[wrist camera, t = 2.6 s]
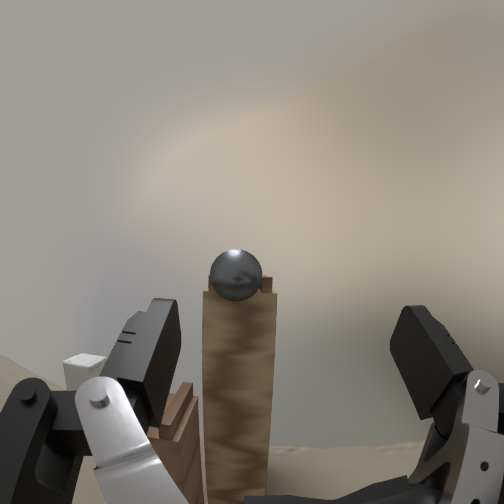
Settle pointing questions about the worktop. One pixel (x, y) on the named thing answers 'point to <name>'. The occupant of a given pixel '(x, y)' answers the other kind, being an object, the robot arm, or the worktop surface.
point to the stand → (237, 392)
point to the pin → (236, 275)
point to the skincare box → (82, 369)
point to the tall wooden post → (181, 443)
